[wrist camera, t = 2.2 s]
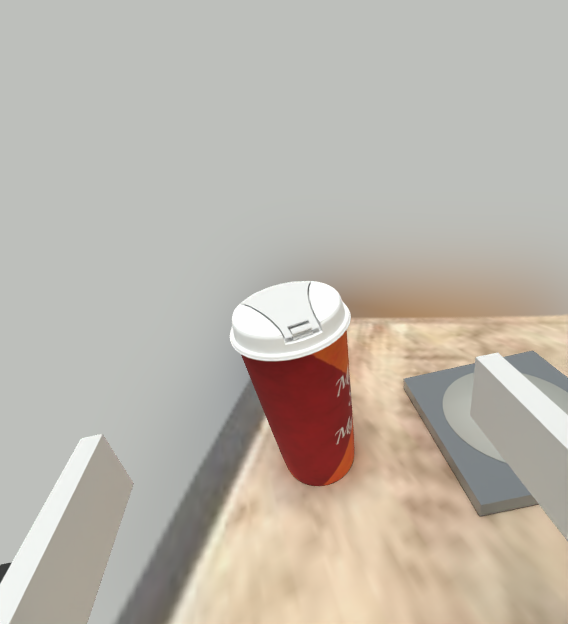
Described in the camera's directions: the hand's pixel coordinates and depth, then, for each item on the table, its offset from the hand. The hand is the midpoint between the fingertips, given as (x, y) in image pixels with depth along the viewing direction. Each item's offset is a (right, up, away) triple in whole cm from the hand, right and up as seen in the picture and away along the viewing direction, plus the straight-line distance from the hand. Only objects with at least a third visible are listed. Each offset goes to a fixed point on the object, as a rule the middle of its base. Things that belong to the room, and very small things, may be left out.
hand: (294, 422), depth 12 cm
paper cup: (+2, -8, +16) cm, 18 cm away
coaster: (+17, -5, +14) cm, 23 cm away
